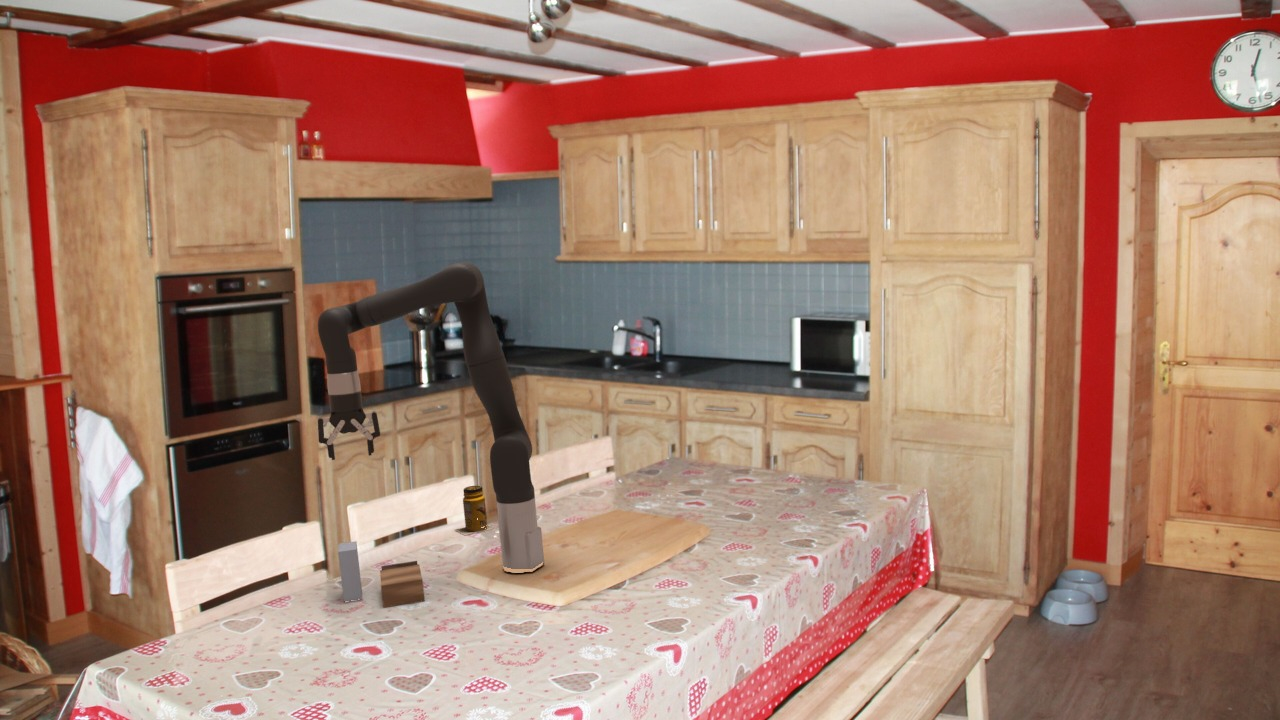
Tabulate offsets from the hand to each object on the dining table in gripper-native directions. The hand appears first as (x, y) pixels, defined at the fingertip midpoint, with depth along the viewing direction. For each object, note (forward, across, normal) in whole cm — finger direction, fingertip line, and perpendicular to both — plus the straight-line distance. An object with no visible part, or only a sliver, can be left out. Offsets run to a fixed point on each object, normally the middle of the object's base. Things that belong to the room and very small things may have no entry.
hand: (352, 457), depth 251 cm
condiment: (+30, +30, +30) cm, 52 cm away
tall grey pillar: (+30, -3, -13) cm, 33 cm away
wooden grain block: (+30, +8, -14) cm, 34 cm away
